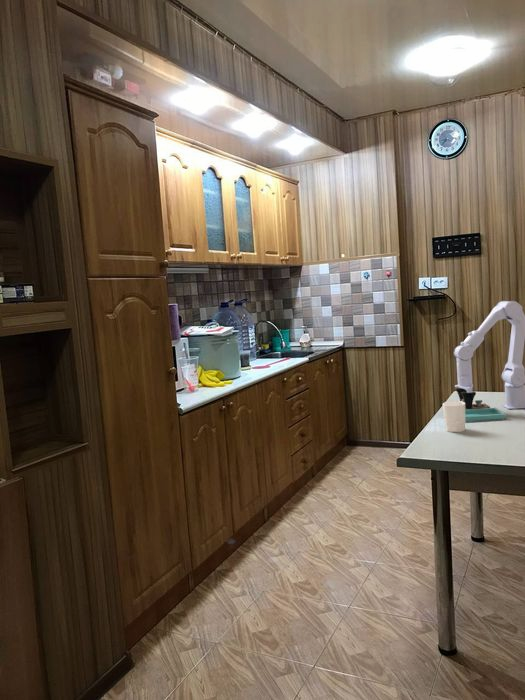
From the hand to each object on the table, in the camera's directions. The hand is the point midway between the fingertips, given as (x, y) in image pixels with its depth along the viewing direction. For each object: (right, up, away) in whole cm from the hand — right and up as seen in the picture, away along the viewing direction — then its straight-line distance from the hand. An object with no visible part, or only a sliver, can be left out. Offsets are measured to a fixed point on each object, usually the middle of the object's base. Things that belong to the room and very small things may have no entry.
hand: (466, 406), depth 229 cm
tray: (+1, -3, -11) cm, 12 cm away
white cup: (-14, -6, -26) cm, 30 cm away
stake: (+5, -2, 0) cm, 5 cm away
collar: (+4, -2, 0) cm, 4 cm away
